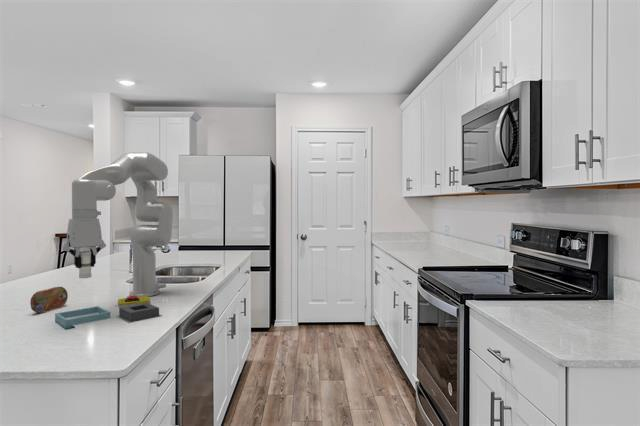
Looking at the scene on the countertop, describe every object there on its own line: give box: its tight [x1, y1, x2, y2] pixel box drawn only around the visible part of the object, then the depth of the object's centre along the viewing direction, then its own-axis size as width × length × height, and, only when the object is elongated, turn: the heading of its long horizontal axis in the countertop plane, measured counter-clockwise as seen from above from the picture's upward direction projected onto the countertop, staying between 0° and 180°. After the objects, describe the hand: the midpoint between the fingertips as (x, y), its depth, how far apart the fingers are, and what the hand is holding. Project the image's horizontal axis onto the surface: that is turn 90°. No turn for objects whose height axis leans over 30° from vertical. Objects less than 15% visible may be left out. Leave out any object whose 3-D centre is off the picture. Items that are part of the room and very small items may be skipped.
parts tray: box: [54, 305, 111, 330], centre depth 144 cm, size 14×12×3 cm
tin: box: [29, 286, 69, 314], centre depth 159 cm, size 15×3×8 cm, turn 168°
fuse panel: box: [115, 303, 163, 324], centre depth 147 cm, size 12×12×4 cm
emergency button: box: [113, 295, 151, 308], centre depth 165 cm, size 9×4×15 cm
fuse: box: [78, 250, 93, 279], centre depth 143 cm, size 4×4×9 cm
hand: (85, 266), depth 143 cm, fingers closed on fuse, 3 cm apart
